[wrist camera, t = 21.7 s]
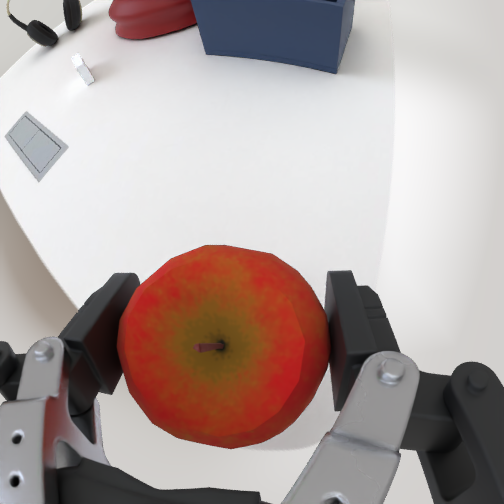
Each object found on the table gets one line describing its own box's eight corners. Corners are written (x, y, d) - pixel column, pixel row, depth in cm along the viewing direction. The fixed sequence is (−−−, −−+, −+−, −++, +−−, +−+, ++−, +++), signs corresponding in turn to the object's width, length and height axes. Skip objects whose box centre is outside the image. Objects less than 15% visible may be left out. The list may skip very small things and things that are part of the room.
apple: (282, 264, 15) (275, 187, 8) (334, 379, 13) (381, 408, 6) (167, 313, 15) (76, 279, 8) (212, 427, 13) (146, 485, 6)
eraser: (87, 85, 32) (75, 68, 29) (81, 73, 34) (71, 57, 30) (94, 80, 32) (83, 62, 29) (88, 69, 34) (78, 52, 30)
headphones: (97, 19, 41) (62, -50, 22) (37, 62, 39) (-7, -2, 21) (90, 13, 44) (59, -49, 25) (35, 51, 42) (-3, -6, 23)
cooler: (352, 26, 31) (357, -26, 22) (336, 74, 28) (343, 7, 19) (244, 11, 34) (236, -37, 26) (205, 54, 31) (189, -4, 22)
